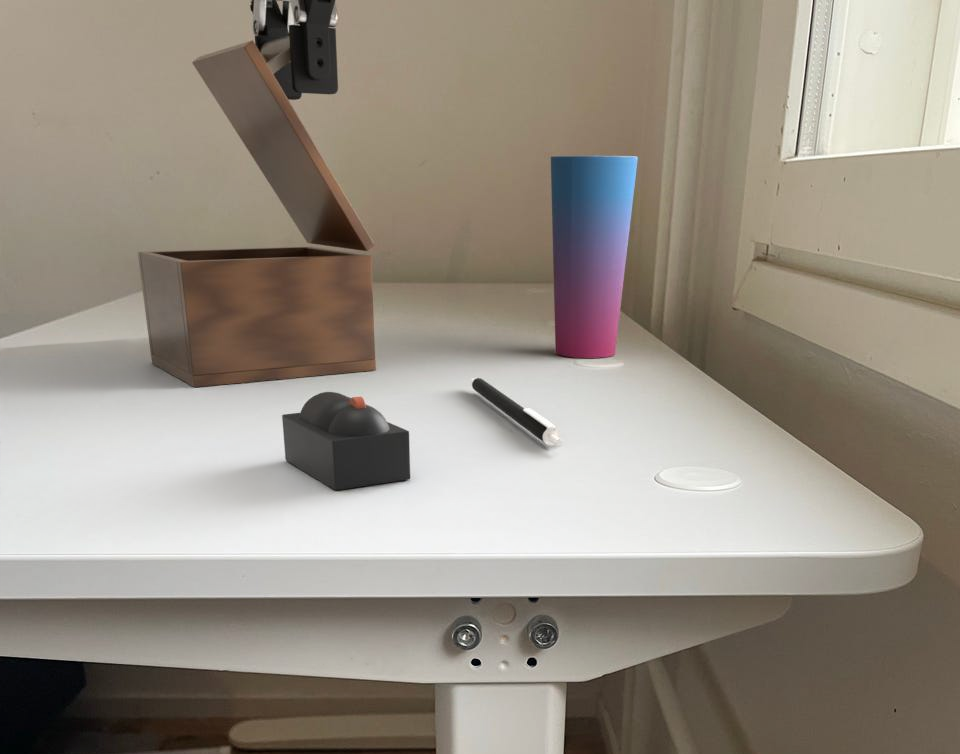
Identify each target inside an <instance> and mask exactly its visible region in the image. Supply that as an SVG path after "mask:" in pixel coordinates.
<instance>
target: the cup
mask: <svg viewBox="0 0 960 754" xmlns="http://www.w3.org/2000/svg"><path fill="white" fill-rule="evenodd" d="M638 160H639V157H638V156H631V155H552V156H550V183H551V184H550V185H551V186H550V187H551V188H550V189H551V222H552V223H551V224H552V225H551V227H552V231H551V232H552V257H553V258H552V264H553V265H552V267H553V303H554V304H553V305H554V307H553V309H554V347H555V351H554V352H555V354H556V355H558V356H561V357H567V358H576V359H577V358H578V359H600V358H608V357H613V356H614V355H615V354H616V350H617V349H616V348H617V340H618V331H619V322H620V315H621V305H622V297H623V289H624V280H625V273H626V272H625V271H626V264H627V263H626V262H627V255H628V246H629V245H628V244H629V237H630V231H631V229H630V228H631V219H632V211H633V204H634V203H633V202H634V194H635V185H636V177H637V169H638V168H637V167H638Z"/></svg>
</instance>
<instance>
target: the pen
mask: <svg viewBox="0 0 960 754" xmlns="http://www.w3.org/2000/svg"><path fill="white" fill-rule="evenodd" d="M470 382H471V387H472V389H473V390H474V391H475V392H476V393H478V394H479V395H481V396H482V397H483V398H484V399H486V400H487V401H488V402H490V403H491V404H492V405H494V406H495V407H496V408H497V409H499V410H501V411H502V412H503V413H504V414H506V415H507V416H509V417H510V419H512V420H514V421H515V422H516V423H518V424H519V425H520V426H521V427H523V428H524V429H525V430H527V431H528V432H529V433H531V434H532V435H534V436H535V438H537V439H539V440H540V441H542V442H543V443H544V444H546V445H547V446H551V447H552V446H554V445H555V446H556V447H561V446H562V445H563V441H562V439H560V433H559V432H558V431H557V430H556V429H557V427H556V426H555V425H554V424H553V423H552V422H550V421H549V420H547V419H546V418H545V417H543V416H542V415H541V414H539V413H538V412H536V411H534V409H531V408H529V407H526V408H525V407H524V406H521V405H520V404H518V403H517V402H515V401H514V400H513V399H511V398H510V397H509V396H507V395H506V394H504V393H503V392H501V391H500V390H499V389H497V388H496V387H494V385H491V384H490V383H489V382H487V381H485V380H484V379H483V378H481V377H475V378H471V379H470Z"/></svg>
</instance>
